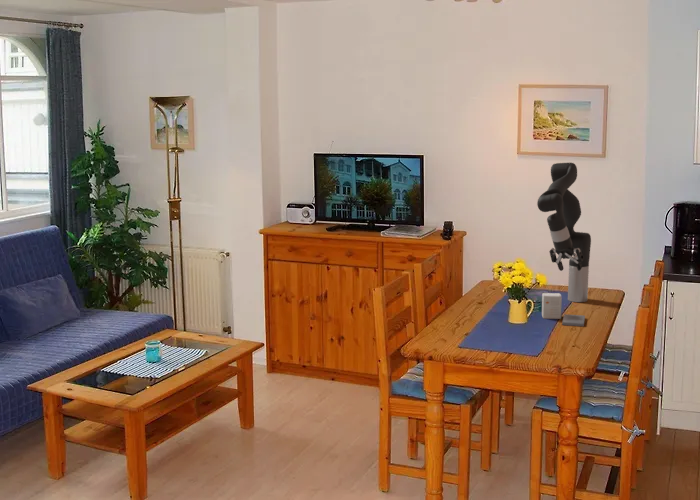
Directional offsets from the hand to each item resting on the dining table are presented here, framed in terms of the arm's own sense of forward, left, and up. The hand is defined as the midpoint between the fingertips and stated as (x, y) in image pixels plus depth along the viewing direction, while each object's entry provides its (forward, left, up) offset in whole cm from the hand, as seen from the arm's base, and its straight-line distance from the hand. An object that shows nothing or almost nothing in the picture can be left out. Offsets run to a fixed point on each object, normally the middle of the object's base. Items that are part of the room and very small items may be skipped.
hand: (570, 269), depth 372 cm
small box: (-8, -8, -24) cm, 27 cm away
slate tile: (-3, +2, -24) cm, 24 cm away
